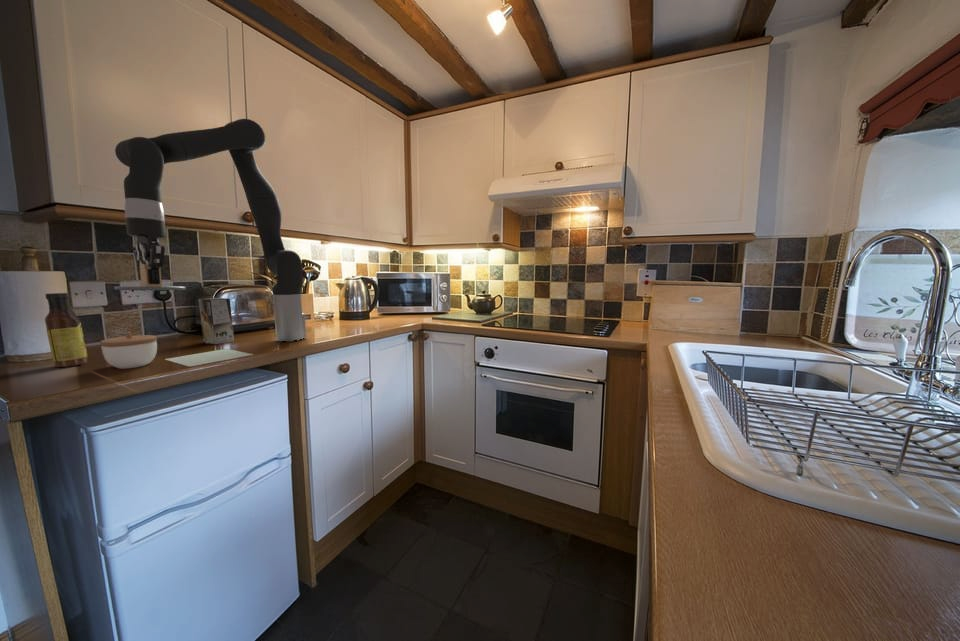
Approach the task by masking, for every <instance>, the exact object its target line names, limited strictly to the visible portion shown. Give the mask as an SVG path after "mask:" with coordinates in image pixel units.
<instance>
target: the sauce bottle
mask: <svg viewBox="0 0 960 641" xmlns="http://www.w3.org/2000/svg"><path fill="white" fill-rule="evenodd" d="M70 298H71V297H70V294H69V292H52V293H45V299H46V300H47V304H48V309H49V311H48V313H47V315H46V316H45V318H44V322H45V327H46V330H45V331H46V335H47V339H48V344H49V348H50V349H49V350H50V354H51V358H52V362H53V366H54V367H57V368H69V367H75V366H80V365H83V364H84V365H85V364H87V363H88V351H87V347H86V342H85V341H86V340H85V337H84V332H83V327H82V323H81V322H82V321H81V320H80V319H79V317H78V316H77V314H76V313H75V312H74V310H73V309H72V307H71V303H70Z"/></svg>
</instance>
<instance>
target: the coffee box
mask: <svg viewBox="0 0 960 641" xmlns="http://www.w3.org/2000/svg"><path fill="white" fill-rule="evenodd" d="M198 307H199V314H200V322H201V330H202V331H201V332H202V338H203V339H202V340H203V341H202V342H203V343H204V342H205V343H204V344H209V343H210V344H211V345H213V344H214V345H219V344H226V343H231V342H235V338H234V337H235V336H234V328H233V327H234V326H233V317H232V307H231V300H230V298H226V297H224V298H223V297H209V298H207V297H206V298H199V299H198Z"/></svg>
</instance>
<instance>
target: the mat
mask: <svg viewBox="0 0 960 641" xmlns="http://www.w3.org/2000/svg"><path fill="white" fill-rule="evenodd" d="M253 355H254V354H253V353H248V352H244V351H239V350H236V349H229V348H224V349H217V350H211V351H205V352H199V353H194V354H189V355H188V354H186V355H182V356H176V357H169V358H165V359H164V360H165V361H169V362H172V363H175V364H179V365H182V366H184V367H195V366H202V365H205V364H206V365H207V364H211V363H212V364H213V363H216V362H217V363H218V362H222V361H228V360H232V359H237V358H243V357H247V356H248V357H249V356H253Z"/></svg>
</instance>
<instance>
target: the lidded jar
mask: <svg viewBox="0 0 960 641" xmlns="http://www.w3.org/2000/svg"><path fill="white" fill-rule="evenodd" d="M157 341H158V337H157V336H156V335H152V334H146V335H145V334H142V335H141V334H140V335H132V332H129V331H128V332H125V336H119V337H112V338H106V339H103V340H101V341H100V342H99V344H100V346H101V353H102V355H103V357H104V360H105V361H106V362H107V363H108V364H109V365H111V367H114V368H117V369H122V370H123V369H132V368H139V367H144V366H147V365H149V364H150V363H152V361H154V359H155V357H156V355H157V352H158V342H157Z"/></svg>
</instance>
